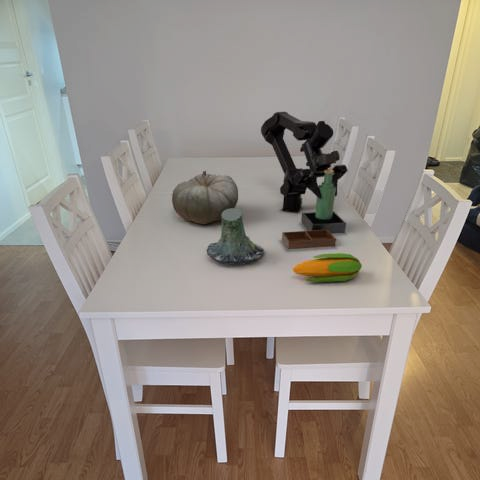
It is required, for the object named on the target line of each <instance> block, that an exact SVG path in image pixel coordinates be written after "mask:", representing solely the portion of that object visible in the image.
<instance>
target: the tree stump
mask: <svg viewBox="0 0 480 480" xmlns="http://www.w3.org/2000/svg"><path fill="white" fill-rule="evenodd" d="M221 216H222V218H221V219H220V220H221V231H220V232H221V233H220V238H219V239H218V240H217V242H212V243H209V244H208V245H207V248H206V254H207V256H209V257H210V258H211V259H212V260H214V261H216V262H217V263H222V264H230V265H239V266H240V265H245V264H249V263H252V262H253V263H254V262H256V261H258V260H259V259H260V258H262V256H264V252H265V250H264V248H262V247H260V245H258V244H256V243H254V242H253V241H252V240H251V239H250V237H249V236H247V235H246V230H245V227H244V219H243V213H242V211H241V210H240V209H239V208H236V207H235V208H231V209H226V210H224V211H223V212H222V215H221Z"/></svg>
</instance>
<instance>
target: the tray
mask: <svg viewBox="0 0 480 480" xmlns="http://www.w3.org/2000/svg"><path fill="white" fill-rule="evenodd" d="M300 222H301V225H303V226H304V228H305V229H306V231H313V230H328V231H329V232H330V233H331V234H332V235H334V234H346V228H347V222H346V221H345V220H344V219H343V218H342V217H341V216H339V214H338V213H336V211H334V210H333V214H332V218H331V219H319V218H316V217H315V211H314V212H313V211H312V212H311V211H310V212H302V213H301V221H300Z"/></svg>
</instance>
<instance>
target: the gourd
mask: <svg viewBox="0 0 480 480" xmlns="http://www.w3.org/2000/svg"><path fill="white" fill-rule="evenodd" d="M238 201H239V189H238V185H237V183H236V182H235V180H234V179H233V178H232V177H231V176H230V175H227V174H212V173H207V170H203V171H202V173H200V174H196V175H195V176H194V177H193V178H190V179H189V180H186V181H182V182H180V183H178V184H177V185H176V187H174V189H173V191H172V195H171V203H172V207H173V210H174V211H175V213H176V214H177V215H178V216H179V217H180V218H181V219H183V220H185V221H187V222H193V223H195V224H198V225H207V224H209V223H212V222H215V221H219V220H222V219H221V218H222V216H221V215H222V212H223V211H224V210H226V209H231V208H236V206H237V204H238Z"/></svg>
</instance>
